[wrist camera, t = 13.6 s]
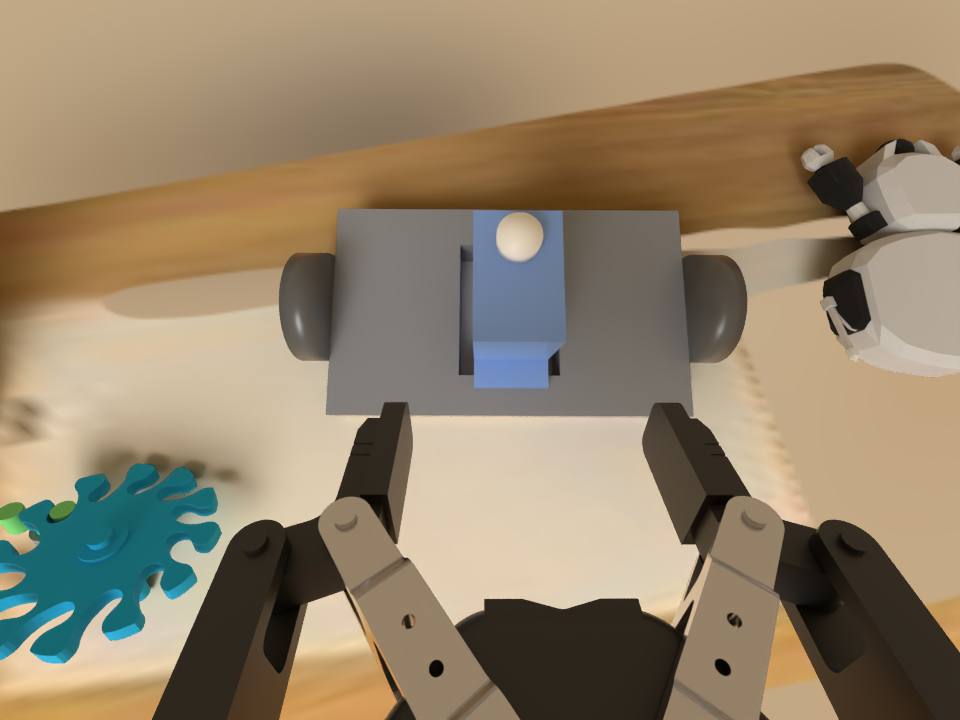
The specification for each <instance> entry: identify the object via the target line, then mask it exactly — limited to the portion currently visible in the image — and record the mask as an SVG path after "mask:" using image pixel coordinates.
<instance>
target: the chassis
mask: <svg viewBox="0 0 960 720" xmlns="http://www.w3.org/2000/svg"><path fill="white" fill-rule="evenodd" d="M496 211H562V214H563V248H564V281H565V315H566V343H565V344H563V345H562V346H561V347H560V348H559V349H558V350H557V351H556V352H555V353H554V354H553V355H552V356H551V357H550V358H549V359H548V381H549V387H548V388H474V352H473V210H469V209H338V221H337V237H336V254H335V257H334V256H333V255H332V254H330V253H296V254H294V255H292V256H291V257H290V258H289V260H288V261H287V263H286V265H285V267H284V270H283V273H282V277H281V282H280V291H279V312H280V320H281V326H282V331H283V334H284V338H285V340H286V343H287V345H288V347H289V349H290V351H291V352H292V354H293V355H294V356H295V357H296V358H297V359H299V360H302V361H329V370H328V386H327V403H326V415H336V416H381V412H382V408H383V405H384V403H385V402H408V405H409V411H410V416H430V417H640V418H649V415H650V412H651V409H652V407H653V405H654V403H681V404H682V405H683V407H684V409H685V410H686V412H687V414H688V416H689V417H692V416H693V404H692V390H691V376H690V363H716V362H720V361H722V360H724V359H725V358H727V357H728V356H729V355H730V354H731V353H732V351H733V350H734V349H735V347H736V346H737V344H738V342H739V340H740V337H741V335H742V332H743V329H744V325H745V320H746V312H747V291H746V285H745V281H744V277H743V274H742V272H741V270H740V268H739V266H738V265H737V264H736V262H735V261H734V260H733V259H731V258H730V257H728V256H724V255H689V256H686V257H684V258H683V259H682V252H681V238H680V224H679V211H653V210H496Z"/></svg>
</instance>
